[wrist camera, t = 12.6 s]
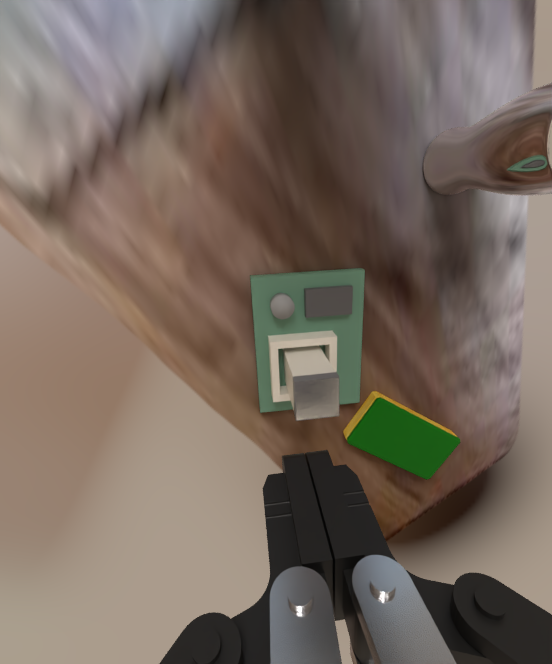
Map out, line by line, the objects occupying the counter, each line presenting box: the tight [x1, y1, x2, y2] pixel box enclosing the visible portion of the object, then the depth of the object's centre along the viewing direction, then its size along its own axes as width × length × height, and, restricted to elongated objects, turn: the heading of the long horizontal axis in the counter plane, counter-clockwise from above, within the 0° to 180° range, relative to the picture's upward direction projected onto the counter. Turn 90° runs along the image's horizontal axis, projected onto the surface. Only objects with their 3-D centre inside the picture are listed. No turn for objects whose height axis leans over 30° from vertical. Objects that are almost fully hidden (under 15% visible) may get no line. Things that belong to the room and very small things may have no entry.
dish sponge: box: [343, 391, 460, 480], centre depth 44 cm, size 7×14×2 cm, turn 59°
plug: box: [283, 345, 339, 421], centre depth 35 cm, size 4×4×8 cm
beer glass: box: [423, 83, 552, 196], centre depth 27 cm, size 7×7×15 cm
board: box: [250, 268, 365, 413], centre depth 38 cm, size 16×12×3 cm
